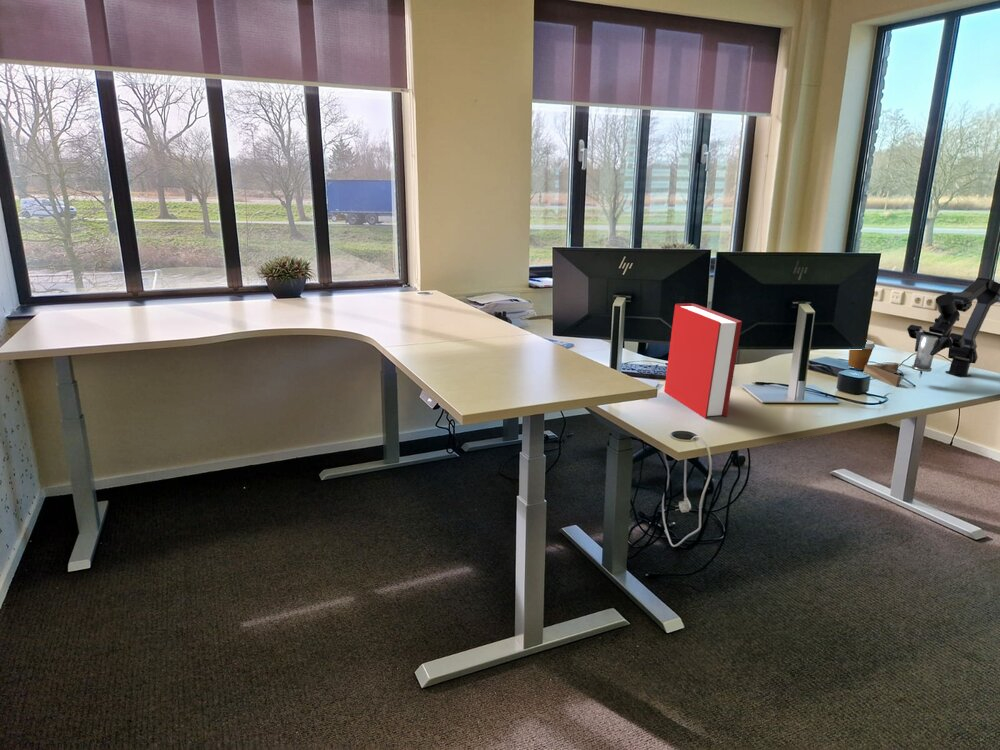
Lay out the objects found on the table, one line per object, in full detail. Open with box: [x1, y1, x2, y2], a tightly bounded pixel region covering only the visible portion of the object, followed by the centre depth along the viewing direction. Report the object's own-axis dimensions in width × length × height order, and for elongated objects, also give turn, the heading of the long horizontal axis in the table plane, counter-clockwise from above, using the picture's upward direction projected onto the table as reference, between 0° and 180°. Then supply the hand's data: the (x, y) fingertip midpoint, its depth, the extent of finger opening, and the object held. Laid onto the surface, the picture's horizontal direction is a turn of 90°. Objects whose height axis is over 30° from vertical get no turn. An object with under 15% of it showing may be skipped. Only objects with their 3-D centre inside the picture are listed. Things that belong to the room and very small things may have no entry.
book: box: [663, 302, 743, 419], centre depth 211 cm, size 27×8×32 cm, turn 16°
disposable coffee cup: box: [847, 339, 876, 372], centre depth 261 cm, size 10×10×12 cm
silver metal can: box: [911, 335, 938, 373], centre depth 240 cm, size 6×6×13 cm
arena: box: [863, 363, 902, 388], centre depth 250 cm, size 15×16×4 cm
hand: (923, 353), depth 239 cm, fingers closed on silver metal can, 5 cm apart
